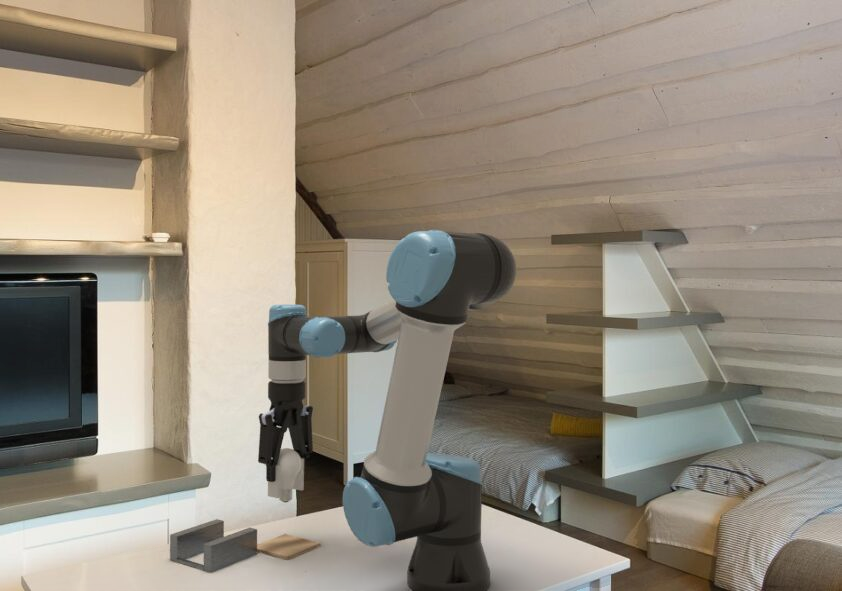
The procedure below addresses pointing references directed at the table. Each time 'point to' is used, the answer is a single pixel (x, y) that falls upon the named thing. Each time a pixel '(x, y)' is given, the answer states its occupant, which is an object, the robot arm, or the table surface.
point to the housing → (212, 545)
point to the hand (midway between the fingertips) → (285, 492)
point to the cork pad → (286, 546)
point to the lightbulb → (288, 472)
